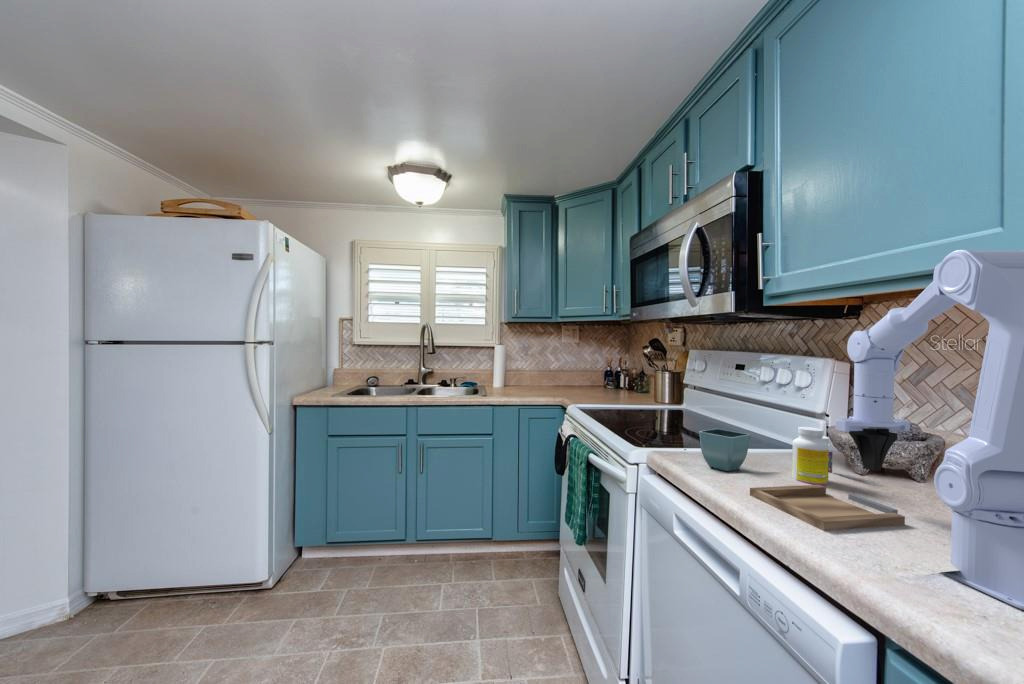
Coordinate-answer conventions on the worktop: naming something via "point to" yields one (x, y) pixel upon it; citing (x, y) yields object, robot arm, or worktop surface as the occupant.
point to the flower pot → (724, 448)
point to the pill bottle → (827, 440)
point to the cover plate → (872, 504)
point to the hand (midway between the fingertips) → (871, 469)
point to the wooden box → (822, 508)
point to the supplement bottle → (810, 457)
